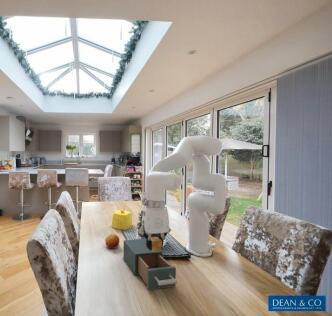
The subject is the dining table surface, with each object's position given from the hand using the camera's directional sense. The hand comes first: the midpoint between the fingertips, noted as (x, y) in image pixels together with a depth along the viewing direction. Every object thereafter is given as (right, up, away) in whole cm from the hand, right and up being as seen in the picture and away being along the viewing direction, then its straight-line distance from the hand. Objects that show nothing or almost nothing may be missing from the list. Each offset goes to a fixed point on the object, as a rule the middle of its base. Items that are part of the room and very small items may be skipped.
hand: (154, 247), depth 84 cm
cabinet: (-2, -13, +12) cm, 18 cm away
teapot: (-5, -13, +64) cm, 65 cm away
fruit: (-14, -13, +31) cm, 37 cm away
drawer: (0, -13, -1) cm, 13 cm away
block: (0, 0, 0) cm, 0 cm away
